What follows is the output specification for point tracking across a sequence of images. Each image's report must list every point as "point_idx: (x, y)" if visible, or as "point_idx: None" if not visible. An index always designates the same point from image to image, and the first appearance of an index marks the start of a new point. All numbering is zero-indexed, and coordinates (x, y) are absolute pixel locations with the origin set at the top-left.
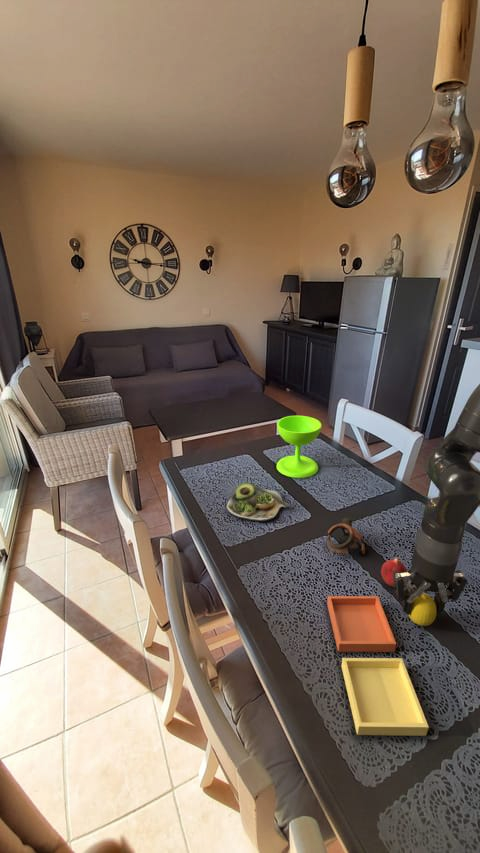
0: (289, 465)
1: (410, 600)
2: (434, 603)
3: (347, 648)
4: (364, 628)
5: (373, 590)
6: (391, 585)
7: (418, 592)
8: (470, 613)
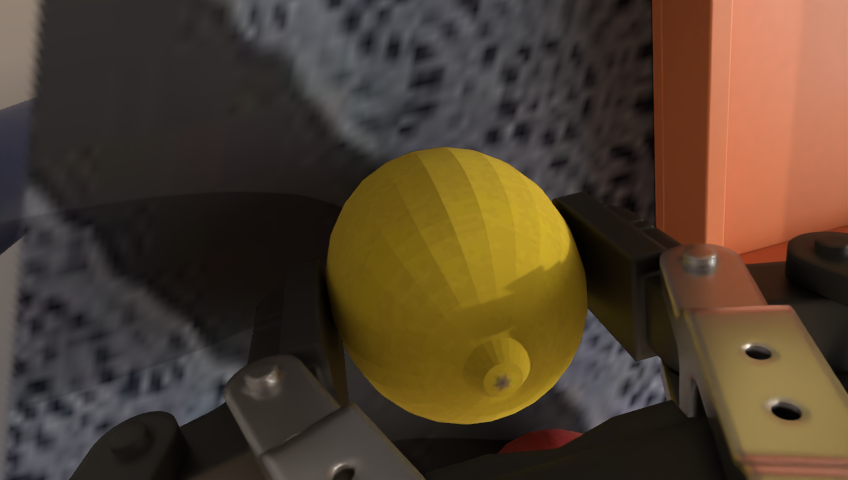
0: None
1: (708, 263)
2: (375, 329)
3: None
4: (811, 59)
5: (644, 373)
6: (575, 433)
7: (788, 360)
8: (25, 385)
